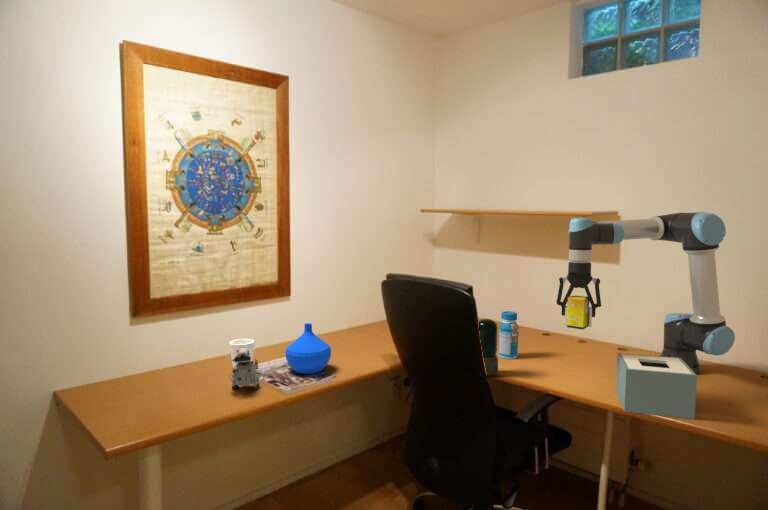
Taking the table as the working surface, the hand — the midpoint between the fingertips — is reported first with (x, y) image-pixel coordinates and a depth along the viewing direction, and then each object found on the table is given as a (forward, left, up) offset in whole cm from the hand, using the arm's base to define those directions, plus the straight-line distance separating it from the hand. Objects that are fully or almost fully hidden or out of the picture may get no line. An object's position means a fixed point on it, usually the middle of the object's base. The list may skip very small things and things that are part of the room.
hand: (577, 325), depth 182 cm
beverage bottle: (+26, -37, -24) cm, 51 cm away
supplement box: (0, 0, -1) cm, 1 cm away
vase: (+102, +8, -24) cm, 105 cm away
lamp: (+33, -10, -24) cm, 42 cm away
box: (-24, +6, -24) cm, 34 cm away
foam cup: (+125, +20, -24) cm, 129 cm away
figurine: (+114, +36, -24) cm, 122 cm away
